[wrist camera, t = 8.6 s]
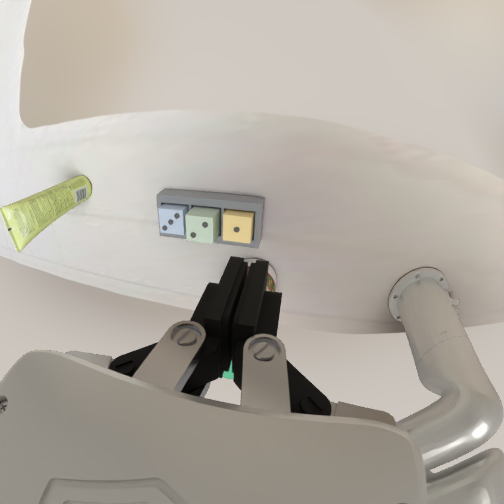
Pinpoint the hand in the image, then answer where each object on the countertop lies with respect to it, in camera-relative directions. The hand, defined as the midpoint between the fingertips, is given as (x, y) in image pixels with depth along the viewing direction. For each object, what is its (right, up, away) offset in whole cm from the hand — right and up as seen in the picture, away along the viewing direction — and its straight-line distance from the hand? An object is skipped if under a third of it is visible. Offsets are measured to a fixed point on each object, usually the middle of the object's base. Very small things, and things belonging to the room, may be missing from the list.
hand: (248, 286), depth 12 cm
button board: (-6, +8, +31) cm, 32 cm away
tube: (-32, +14, +32) cm, 48 cm away
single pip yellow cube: (-1, +6, +29) cm, 30 cm away
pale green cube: (-7, +6, +28) cm, 30 cm away
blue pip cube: (-11, +8, +30) cm, 33 cm away
